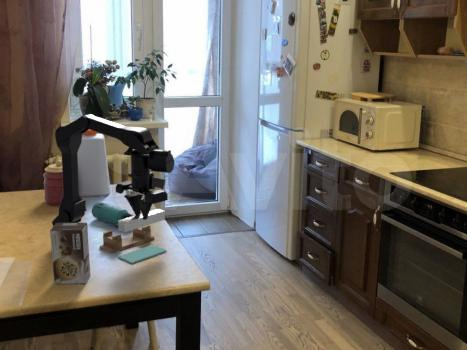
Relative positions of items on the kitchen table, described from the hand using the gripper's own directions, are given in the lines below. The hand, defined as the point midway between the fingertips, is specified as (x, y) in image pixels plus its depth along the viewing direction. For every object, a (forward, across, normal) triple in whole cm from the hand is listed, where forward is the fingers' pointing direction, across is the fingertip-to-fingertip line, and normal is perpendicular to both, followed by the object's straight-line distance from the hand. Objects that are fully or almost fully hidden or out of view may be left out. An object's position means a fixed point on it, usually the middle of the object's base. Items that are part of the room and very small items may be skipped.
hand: (141, 218), depth 176 cm
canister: (+12, +68, -13) cm, 70 cm away
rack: (+12, +11, -2) cm, 16 cm away
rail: (+2, 0, 0) cm, 2 cm away
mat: (+12, 0, 0) cm, 12 cm away
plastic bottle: (+12, +71, -30) cm, 78 cm away
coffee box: (+12, 0, +26) cm, 28 cm away
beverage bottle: (+9, +41, -11) cm, 44 cm away
